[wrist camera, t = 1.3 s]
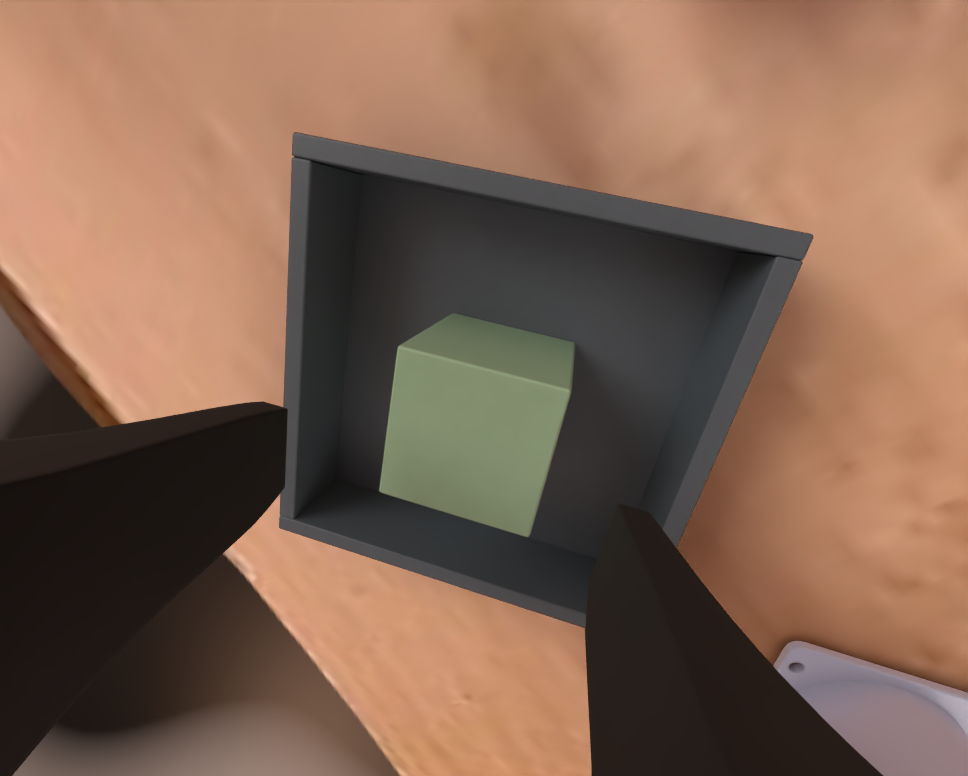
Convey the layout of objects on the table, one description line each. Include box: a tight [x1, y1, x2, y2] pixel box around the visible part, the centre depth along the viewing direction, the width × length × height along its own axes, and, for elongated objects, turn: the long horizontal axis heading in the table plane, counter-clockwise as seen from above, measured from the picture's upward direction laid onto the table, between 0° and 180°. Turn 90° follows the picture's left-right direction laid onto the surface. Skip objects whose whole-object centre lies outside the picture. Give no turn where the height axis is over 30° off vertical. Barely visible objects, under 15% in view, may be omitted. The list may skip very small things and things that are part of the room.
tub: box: [279, 132, 813, 628], centre depth 15 cm, size 13×13×3 cm
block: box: [379, 313, 576, 537], centre depth 14 cm, size 4×4×5 cm
